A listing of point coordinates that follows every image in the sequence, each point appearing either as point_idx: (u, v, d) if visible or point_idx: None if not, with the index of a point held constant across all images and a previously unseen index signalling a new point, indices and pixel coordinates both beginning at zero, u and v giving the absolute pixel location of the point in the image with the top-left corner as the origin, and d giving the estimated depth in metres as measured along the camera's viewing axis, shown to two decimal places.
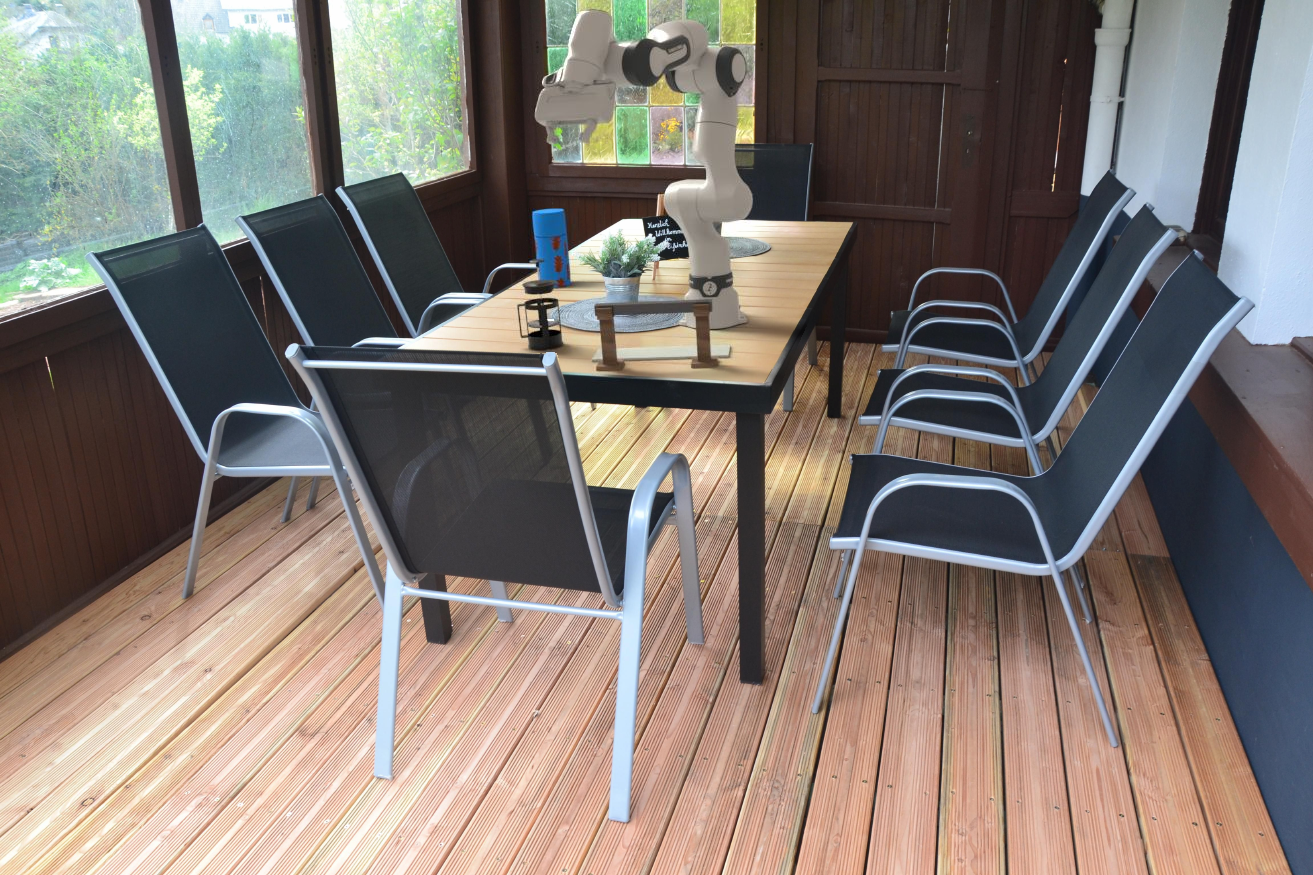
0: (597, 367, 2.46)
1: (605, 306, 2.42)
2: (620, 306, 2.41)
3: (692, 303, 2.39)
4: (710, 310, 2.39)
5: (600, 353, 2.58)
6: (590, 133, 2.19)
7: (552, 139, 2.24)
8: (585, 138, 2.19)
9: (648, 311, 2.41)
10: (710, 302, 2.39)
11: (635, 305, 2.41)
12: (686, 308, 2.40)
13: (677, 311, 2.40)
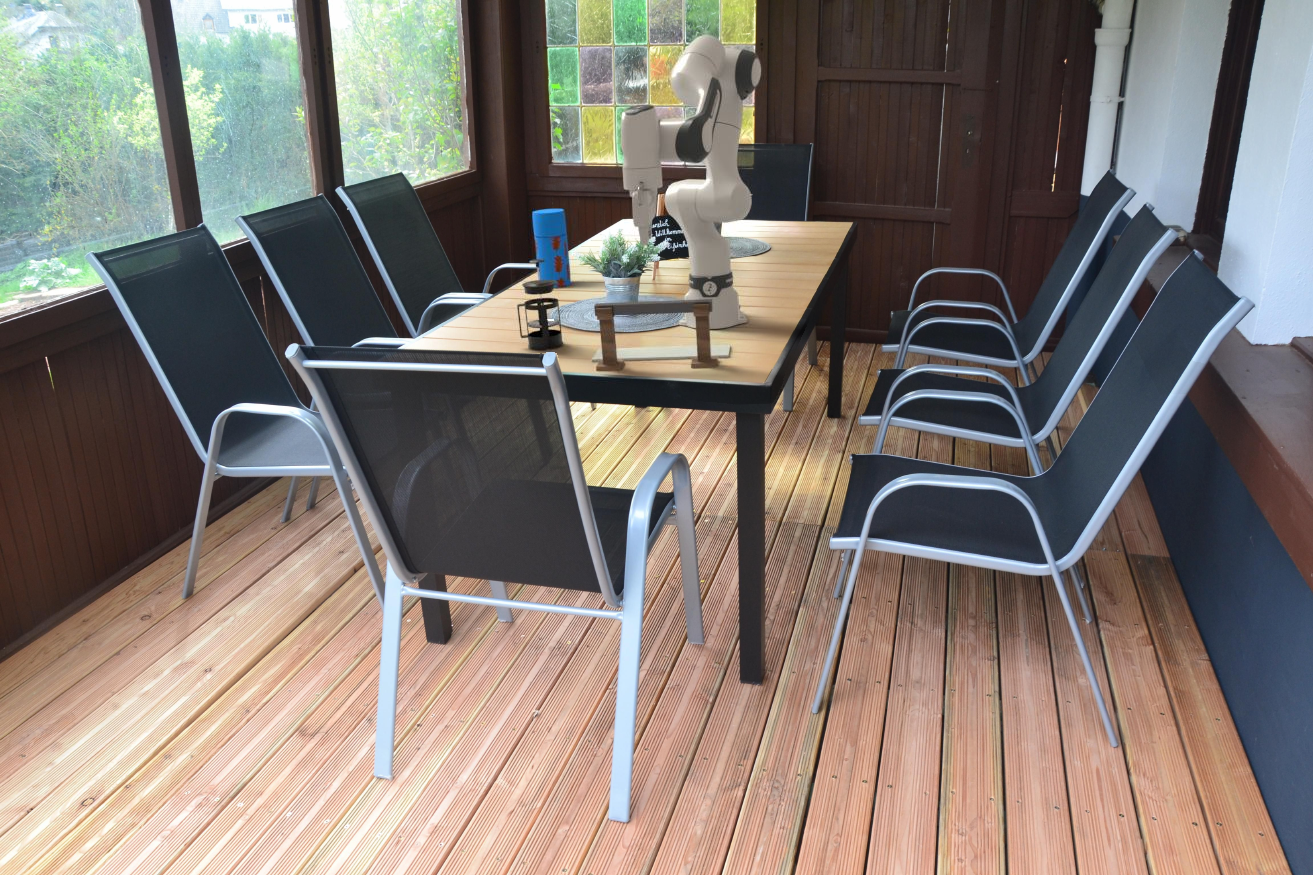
0: (597, 367, 2.46)
1: (605, 306, 2.42)
2: (620, 306, 2.41)
3: (692, 303, 2.39)
4: (710, 310, 2.39)
5: (600, 353, 2.58)
6: (645, 235, 2.30)
7: None
8: (642, 242, 2.31)
9: (648, 311, 2.41)
10: (710, 302, 2.39)
11: (635, 305, 2.41)
12: (686, 308, 2.40)
13: (677, 311, 2.40)
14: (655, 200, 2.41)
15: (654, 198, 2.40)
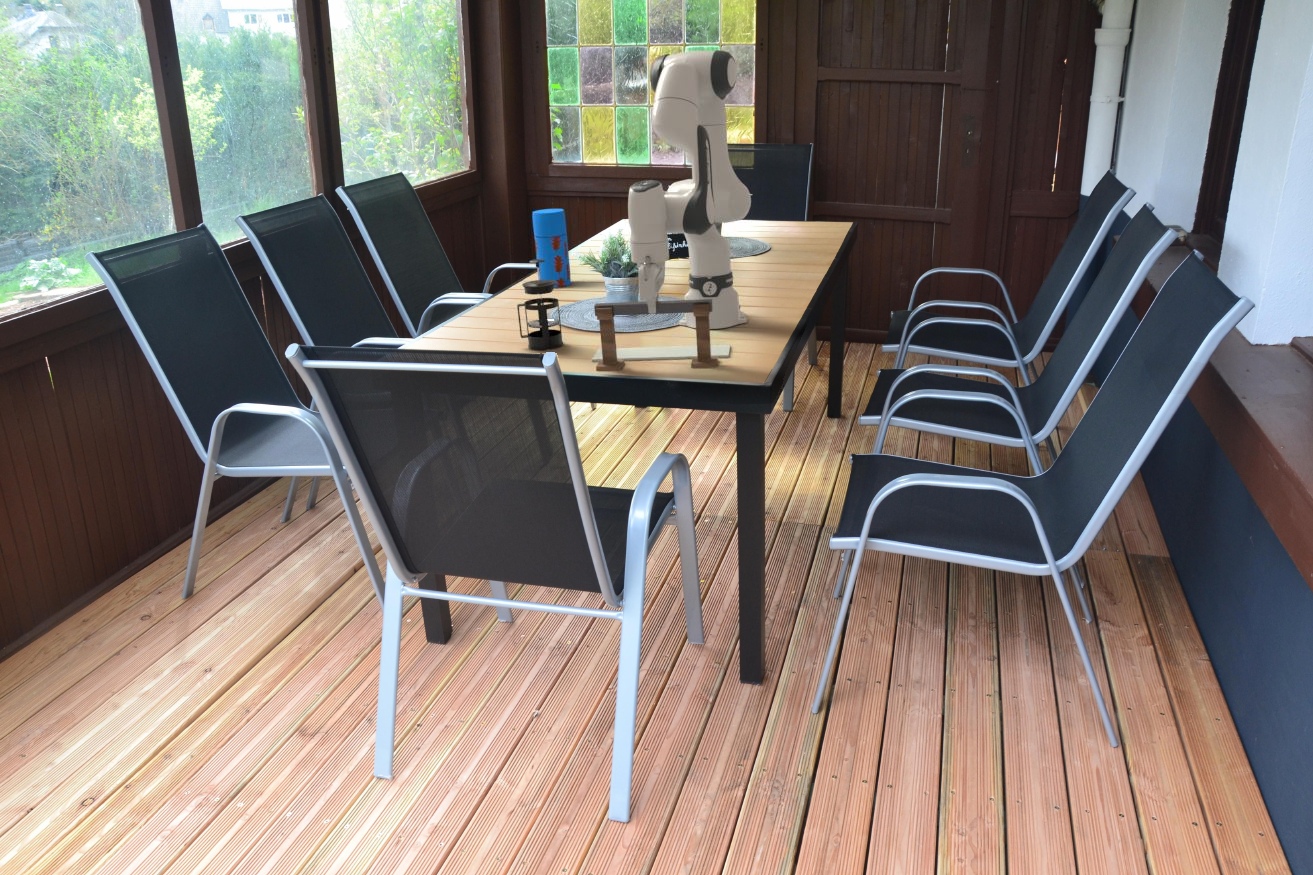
0: (597, 367, 2.46)
1: (605, 306, 2.42)
2: (620, 306, 2.41)
3: (692, 303, 2.39)
4: (710, 310, 2.39)
5: (600, 353, 2.58)
6: (653, 305, 2.39)
7: None
8: (650, 311, 2.40)
9: (648, 311, 2.41)
10: (710, 302, 2.39)
11: (635, 305, 2.41)
12: (686, 308, 2.40)
13: (677, 311, 2.40)
14: (663, 268, 2.47)
15: (662, 267, 2.46)
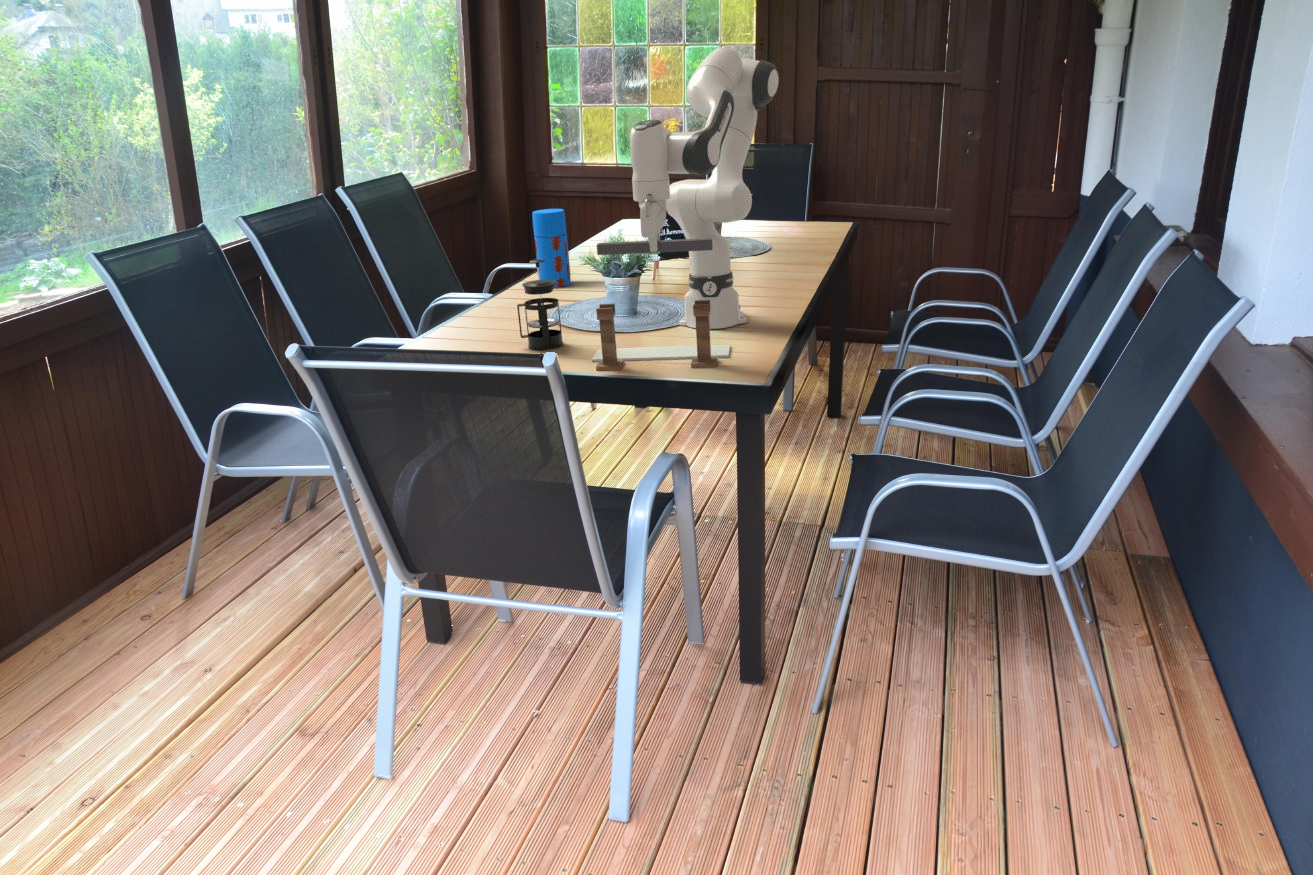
0: (597, 367, 2.46)
1: (607, 245, 2.47)
2: (622, 245, 2.46)
3: (692, 242, 2.44)
4: (710, 248, 2.44)
5: (600, 353, 2.58)
6: (655, 243, 2.44)
7: None
8: (652, 249, 2.45)
9: (649, 250, 2.46)
10: (710, 240, 2.44)
11: (637, 244, 2.46)
12: (686, 246, 2.45)
13: (678, 250, 2.45)
14: (664, 209, 2.52)
15: (663, 208, 2.51)
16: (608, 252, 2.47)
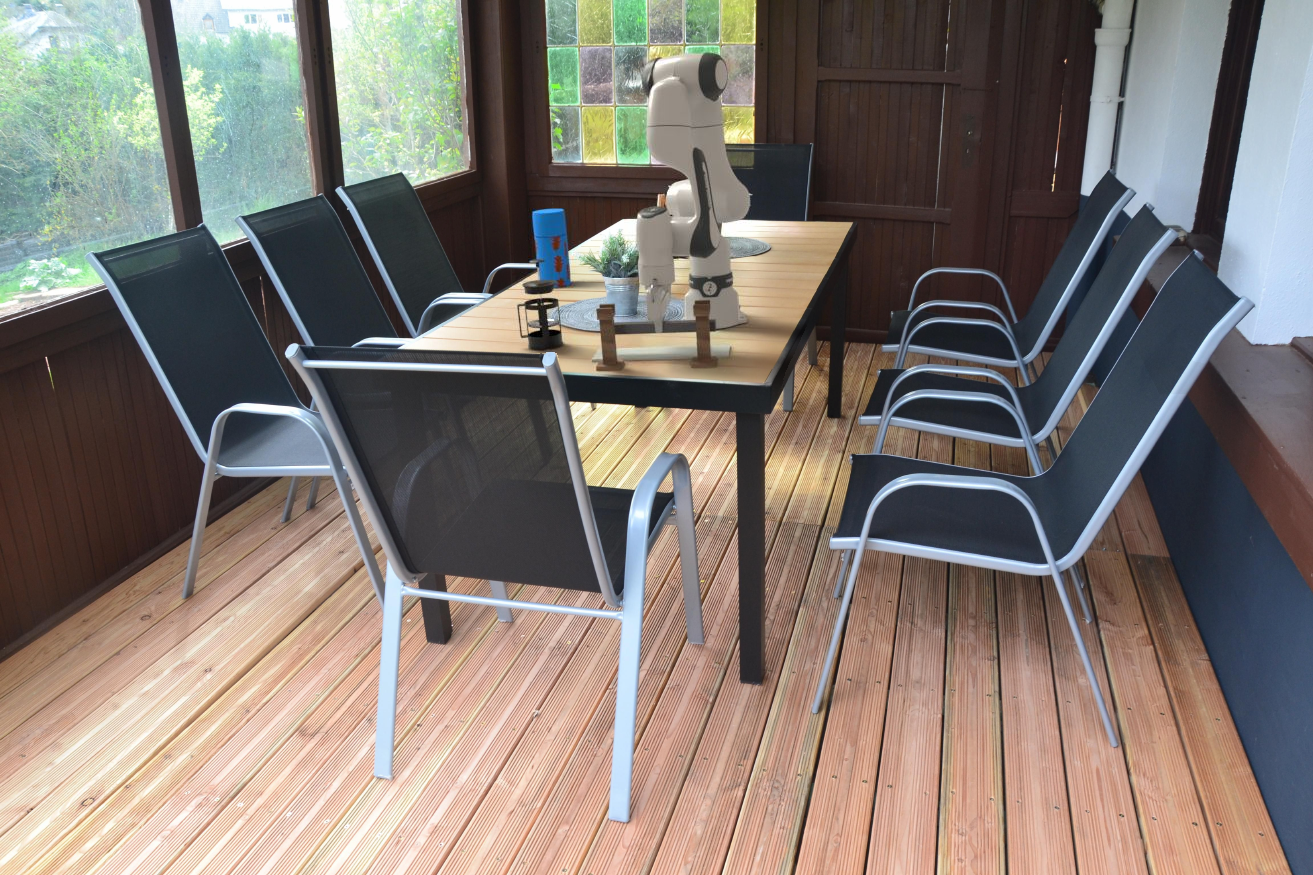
0: (597, 367, 2.46)
1: None
2: (628, 325, 2.53)
3: None
4: (714, 330, 2.51)
5: (600, 353, 2.58)
6: (660, 325, 2.50)
7: None
8: (657, 330, 2.51)
9: (654, 331, 2.53)
10: (714, 322, 2.50)
11: (642, 325, 2.53)
12: (690, 328, 2.52)
13: (682, 331, 2.52)
14: (669, 289, 2.59)
15: None
16: None
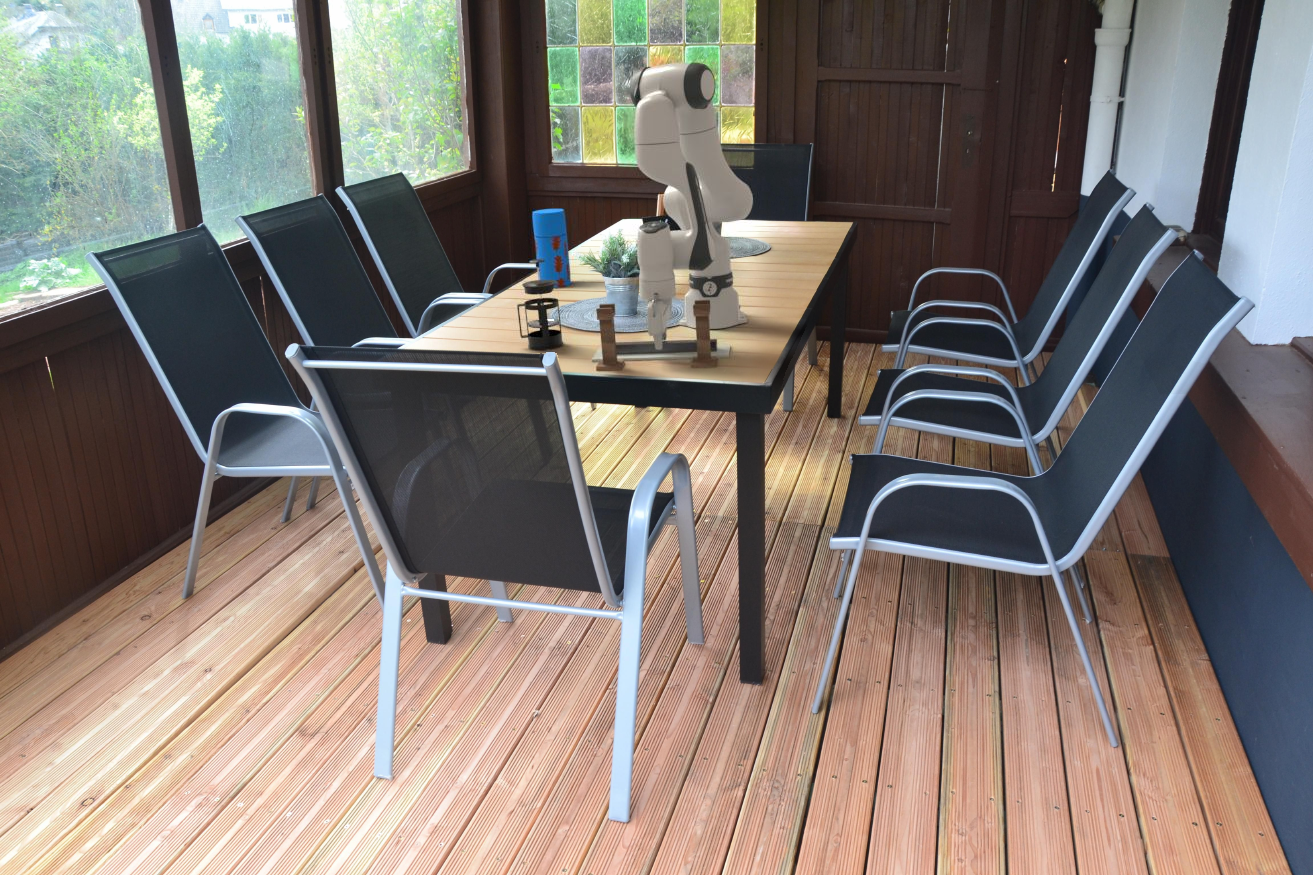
0: (597, 367, 2.46)
1: None
2: (629, 345, 2.55)
3: None
4: (715, 350, 2.53)
5: (600, 353, 2.58)
6: (660, 341, 2.49)
7: None
8: (657, 347, 2.50)
9: (656, 350, 2.55)
10: (715, 342, 2.52)
11: (644, 345, 2.55)
12: (692, 347, 2.53)
13: (683, 350, 2.54)
14: (670, 303, 2.60)
15: None
16: None
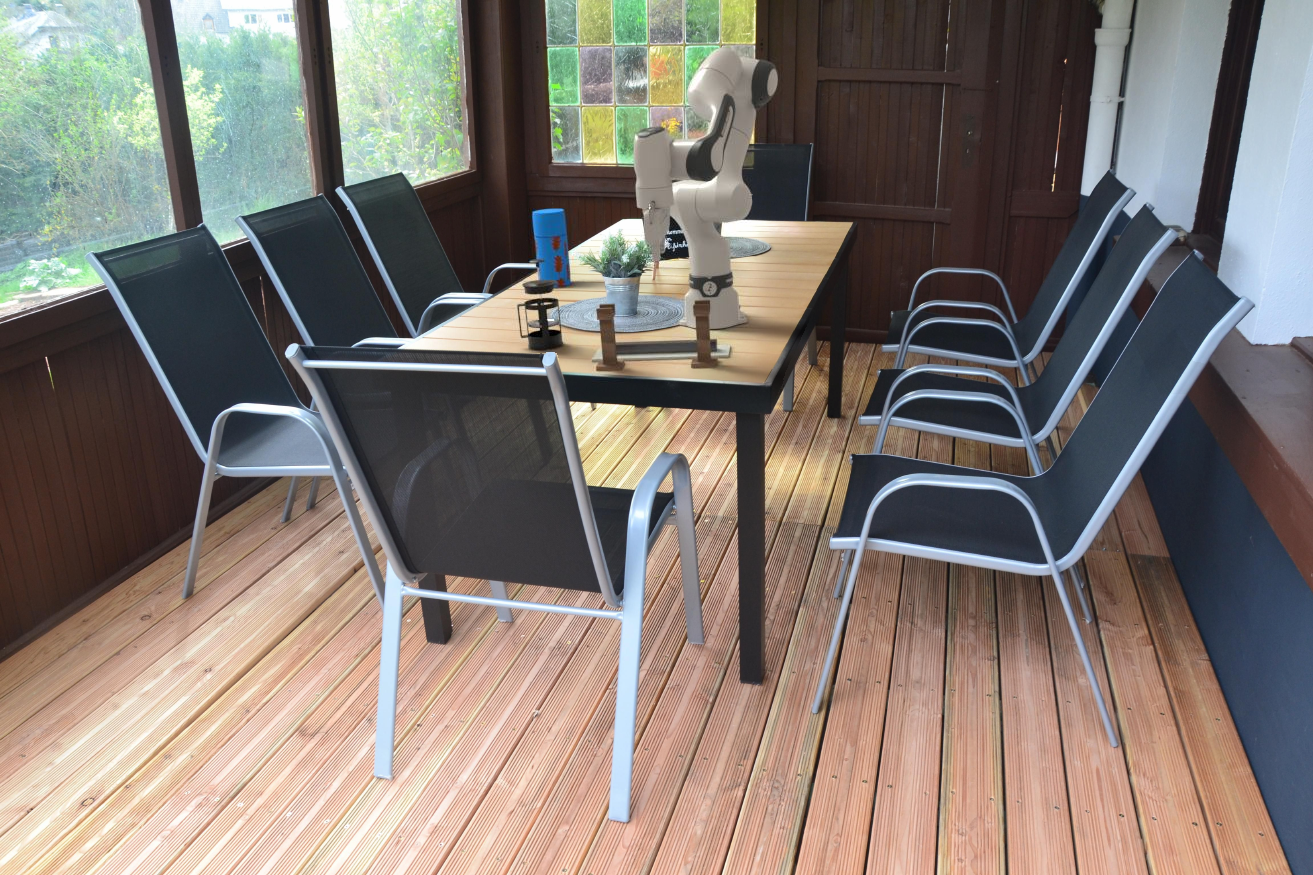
0: (597, 367, 2.46)
1: None
2: (629, 345, 2.55)
3: None
4: (715, 350, 2.53)
5: (600, 353, 2.58)
6: (657, 252, 2.42)
7: None
8: (654, 258, 2.42)
9: (656, 350, 2.55)
10: (715, 342, 2.52)
11: (644, 345, 2.55)
12: (692, 347, 2.53)
13: (683, 350, 2.54)
14: (668, 216, 2.52)
15: (667, 214, 2.51)
16: None
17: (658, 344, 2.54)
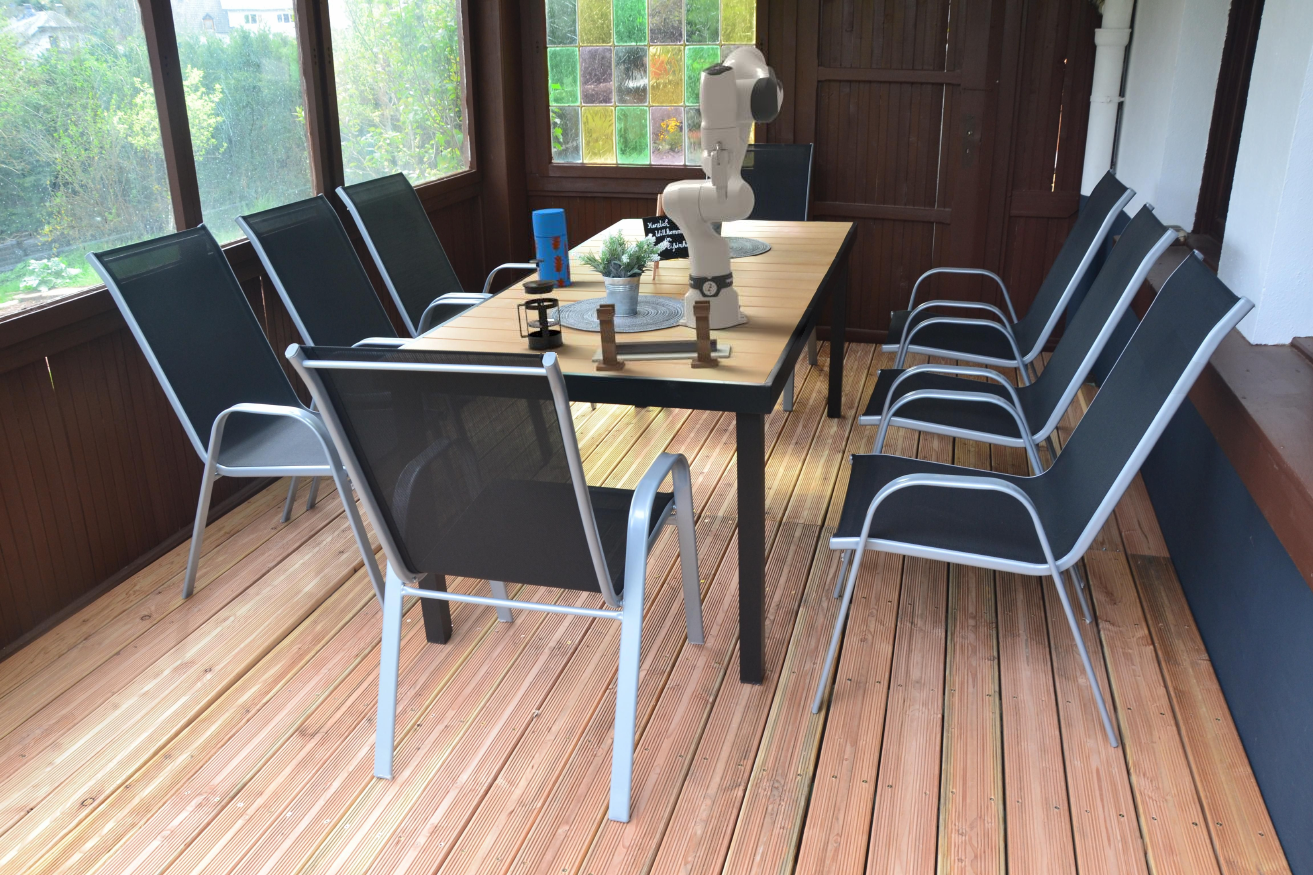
0: (597, 367, 2.46)
1: None
2: (629, 345, 2.55)
3: None
4: (715, 350, 2.53)
5: (600, 353, 2.58)
6: (723, 195, 2.33)
7: None
8: (719, 202, 2.34)
9: (656, 350, 2.55)
10: (715, 342, 2.52)
11: (644, 345, 2.55)
12: (692, 347, 2.53)
13: (683, 350, 2.54)
14: (731, 161, 2.44)
15: (730, 159, 2.43)
16: None
17: (658, 344, 2.54)
